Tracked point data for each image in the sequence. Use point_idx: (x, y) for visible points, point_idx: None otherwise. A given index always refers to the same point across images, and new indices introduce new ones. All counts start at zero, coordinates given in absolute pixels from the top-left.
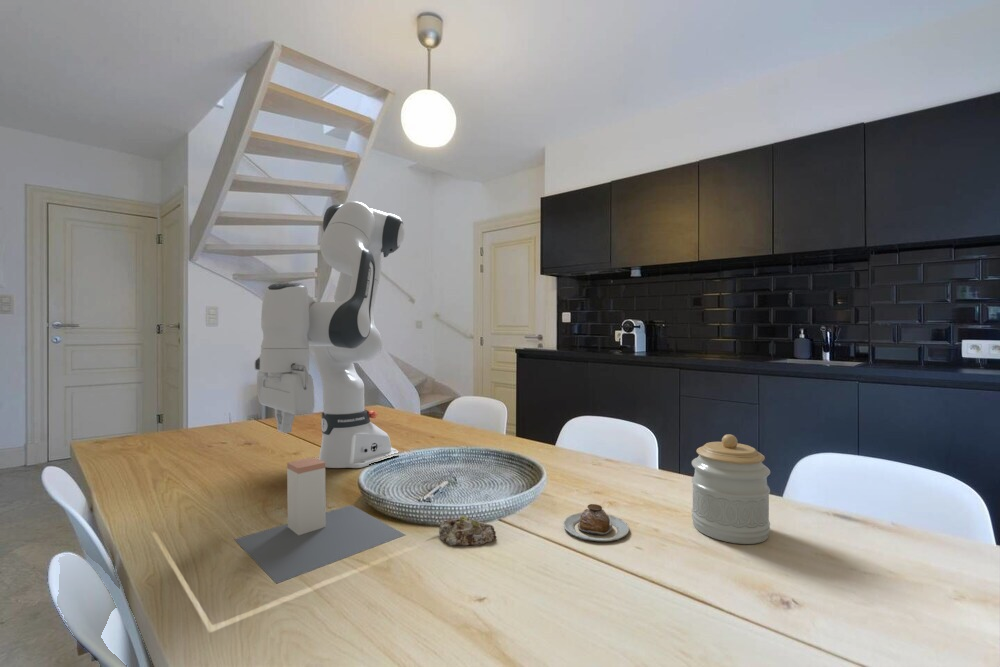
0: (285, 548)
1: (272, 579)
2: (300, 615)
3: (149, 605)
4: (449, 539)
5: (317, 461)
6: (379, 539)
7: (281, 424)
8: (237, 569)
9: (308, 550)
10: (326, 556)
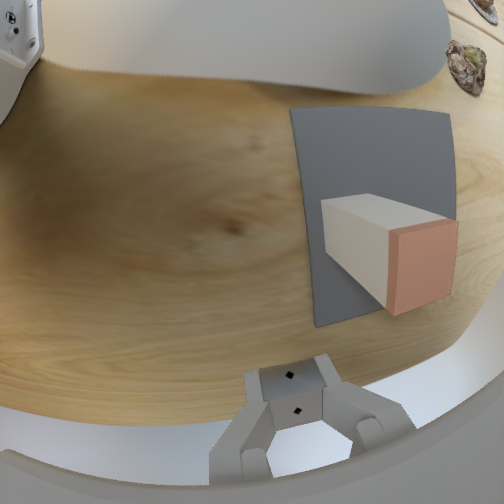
0: None
1: None
2: (481, 269)
3: (391, 374)
4: (477, 92)
5: (441, 238)
6: (445, 148)
7: (323, 418)
8: (390, 318)
9: None
10: None
